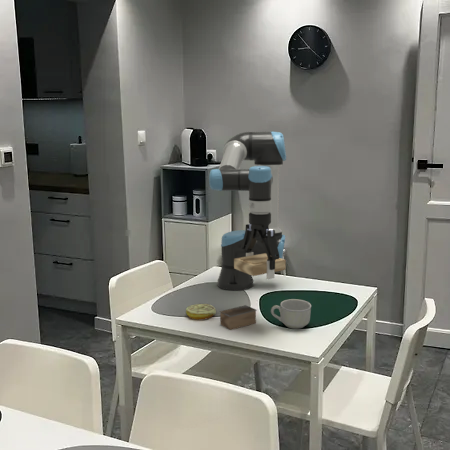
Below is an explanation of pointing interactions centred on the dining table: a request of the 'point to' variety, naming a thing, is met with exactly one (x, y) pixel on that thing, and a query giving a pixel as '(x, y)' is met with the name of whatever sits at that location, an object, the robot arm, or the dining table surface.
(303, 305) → the teacup
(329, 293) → the dining table surface
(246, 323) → the brown rectangular block
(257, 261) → the cover board
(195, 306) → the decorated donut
